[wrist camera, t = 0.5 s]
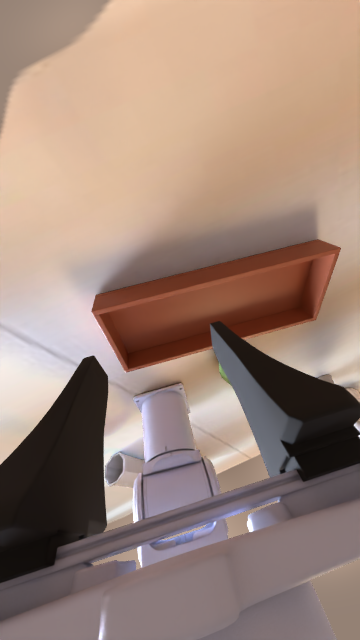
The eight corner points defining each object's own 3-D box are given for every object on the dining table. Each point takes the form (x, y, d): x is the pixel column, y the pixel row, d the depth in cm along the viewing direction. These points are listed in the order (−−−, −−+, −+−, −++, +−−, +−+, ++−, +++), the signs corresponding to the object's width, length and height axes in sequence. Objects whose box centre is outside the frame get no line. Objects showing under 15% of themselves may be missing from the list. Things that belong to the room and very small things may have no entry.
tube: (190, 484, 53) (127, 471, 38) (175, 499, 53) (106, 492, 37) (180, 465, 57) (121, 446, 42) (167, 478, 57) (102, 465, 42)
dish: (299, 306, 27) (316, 319, 24) (125, 354, 25) (125, 372, 23) (317, 239, 21) (341, 247, 19) (95, 294, 20) (91, 311, 17)
